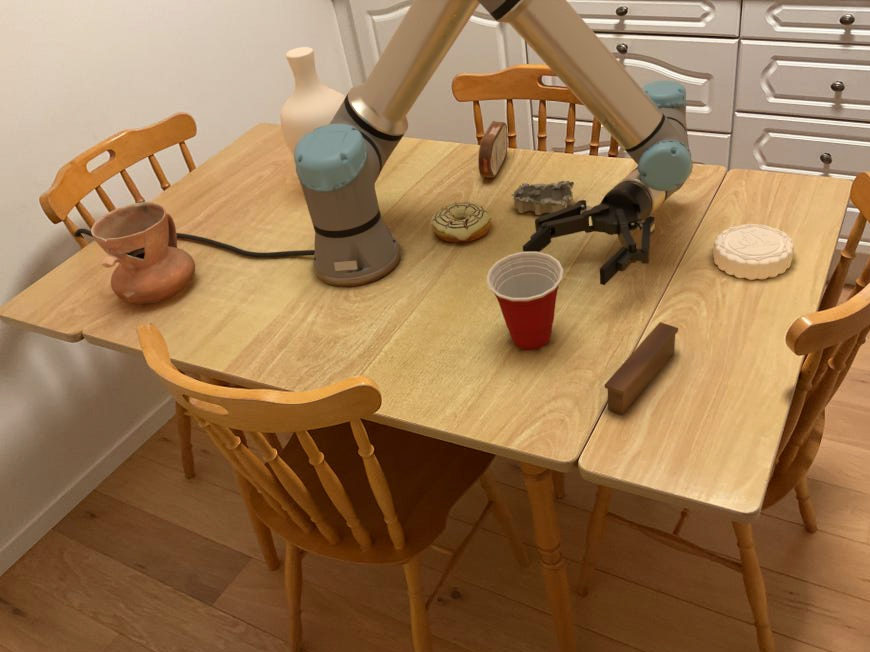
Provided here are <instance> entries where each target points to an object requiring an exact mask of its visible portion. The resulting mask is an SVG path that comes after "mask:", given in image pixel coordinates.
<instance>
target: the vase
mask: <svg viewBox="0 0 870 652" xmlns="http://www.w3.org/2000/svg"><path fill="white" fill-rule="evenodd" d="M285 57H286V60H287V63H288V65H289V67H290V69H291V71H292V75H293V78H294V84H295V85H294V90H293V92H292V94H291V95H290V97H289V98H288V99H287V101H285V103H284V104H283V106H282V107H281V110H280V113H279V114H280V115H279V117H280V125H281V130H282V134H283V139H284V141H285V143H286V146H287V147H288V150H289V151H290V153H291V155H292V157H293V158H294V150H295V147H296V145H297V143H298V142H299V140H300V139H301V138H302V137H303V136H304V135H306V134H307V133H309V132H310V133H312V132H314V129H316V128H319V127H322V126H325V125H329V124H330V123H331V121H332V119H333V118H334V116H335V114H336V112H337V111H338V109H339V108H340V106H341V104H342V103H343V101H344V99H345V97H346V96H345V95H344V94H343V93H341V92H339V91H337V90H335V89H333V88H330V87H328V86H326V85H325V84H323V82H322V81H321V79H320V78H319V76H318V73H317V69H316V61H315V60H316V59H315V52H314V49H313V48H312V47H309V46H300V47H299V46H298V47H295V48H292V49H289V50H288V51H287V52H286V54H285Z"/></svg>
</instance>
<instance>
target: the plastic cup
mask: <svg viewBox="0 0 870 652" xmlns="http://www.w3.org/2000/svg"><path fill="white" fill-rule="evenodd" d="M563 275H564V268H563V266H562V264H561V262H560V260H558V259H556V257H554V256H552V255H551V254H549V253H544V252H542V251H540V252H537V251H536V252H523V251H520V252H515V253H512V254H508V255H506V256H505V257H503V258H501V259H499V260H497V261H495V263H493V265H492V266H491V267H490V268H489V269H488V271H487V276H486V279H485V280H486V283H487V286H488V289H489V290H490V292H491V293H493V294H494V296H495V298H496V300H497V302H498V305H499V308H500V310H501V313H502V316H503V319H504V322H505V325H506V327H507V329H508V332H509V335H510V339H511V340H512V341H511V342H512V343H513V344H514V346H516V347H517V348H518V349H521V350H524V351H534V350H539V349H541V348H543V347H545V346H547V344H548V343H549V342H550V340H551V337H552V332H553V324H554V319H555V313H556V303H557V296H558V292H559V291H558V290H559V286H560V284H561V283H562V281H563Z"/></svg>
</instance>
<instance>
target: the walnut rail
mask: <svg viewBox="0 0 870 652" xmlns="http://www.w3.org/2000/svg"><path fill="white" fill-rule="evenodd" d="M678 332H679V327H677V326H673V325H670V324H667V323H664V322H661V321H660V322H658V323H657V325H656V326H655V327H654V328H653V329H652V330H651V332H650V333H649V334H648V335H647V336H646V337H645V338H644V339H643V340H642V342H641V343H640V344H639V345H638V346H637V347H636V348H635V349H634V351H633V352H632V353H631V354H630V355H629V356H628V358H626V360H625V361H624V362H623V363H622V364H621V365H620V366H619V368H618V369H617V370H616V371H615V372H614V373H613V374H612V375H611V376H610V377H609V379H608V380H607V381H606V382H605V383H604V389H606V390H607V410H609V411H610V412H613V413H615V414H619V415H620V416H624V414H625V413H626V412H627V410H628V409H629V408H630V407H631V406H632V404H633V403H634V402H635V401H636V400H637V399H638V397H639V396H641V394H642V392H644V390H645V389H646V388H647V386H648V385H649V384H650V383H651V382H652V380H653V379H655V377H656V376H657V375H658V373H659V372H660V371H661V370H662V369H663V367H665V365H666V364H667V363H668V362H669V360H670V359H671V358H672V356H673V355H675V345H676V334H678Z"/></svg>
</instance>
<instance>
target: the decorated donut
mask: <svg viewBox="0 0 870 652" xmlns="http://www.w3.org/2000/svg"><path fill="white" fill-rule="evenodd" d="M491 220H492V216H491V214H490V212H489V211H488V209H486V207H484V206H482V205H479V204H478V203H474V202H468V201H467V202H466V201H464V202H463V201H461V202H454V203H450V204H447V205H445V206H442V207H441V208H439V209H438V210H437V211H436V212H434V214H433V215H432V216H431V217H430V222H431V229H432V230H433V231H434V233H435V234H436V235H437V236H438V237H439V238H440V239H442V240H444V241H446V242H449V243H451V242H452V243H461V242H463V243H464V242H469V243H470V242H472V241H475V240H478V239H480V238H481V237H484V236H485V235H487V234H488V233H489V232H488V231H489V229H490V227H491Z"/></svg>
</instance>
